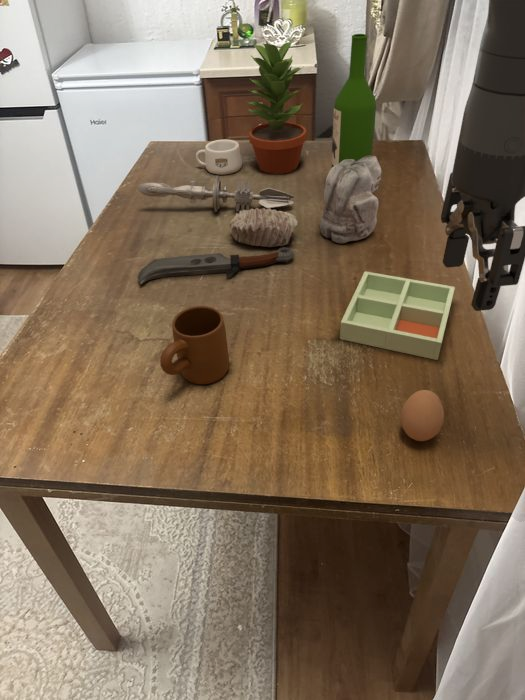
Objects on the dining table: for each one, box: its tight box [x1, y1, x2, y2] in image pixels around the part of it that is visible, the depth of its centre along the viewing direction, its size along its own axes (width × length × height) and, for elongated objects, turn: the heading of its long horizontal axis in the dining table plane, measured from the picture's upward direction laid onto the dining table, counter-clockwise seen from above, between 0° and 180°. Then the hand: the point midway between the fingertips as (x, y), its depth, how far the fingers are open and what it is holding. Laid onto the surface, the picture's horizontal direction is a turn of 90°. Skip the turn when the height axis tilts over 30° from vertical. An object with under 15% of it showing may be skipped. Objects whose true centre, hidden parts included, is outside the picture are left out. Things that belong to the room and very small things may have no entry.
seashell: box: [229, 207, 299, 248], centre depth 109 cm, size 14×9×10 cm
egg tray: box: [339, 270, 456, 361], centre depth 88 cm, size 15×15×4 cm
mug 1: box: [159, 305, 230, 385], centre depth 78 cm, size 12×8×9 cm, turn 147°
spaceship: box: [137, 175, 295, 213], centre depth 120 cm, size 8×35×8 cm
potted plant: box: [246, 37, 307, 175], centre depth 131 cm, size 15×15×30 cm
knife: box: [137, 246, 295, 285], centre depth 103 cm, size 9×2×30 cm
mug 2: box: [195, 138, 243, 176], centre depth 139 cm, size 12×10×6 cm
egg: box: [400, 389, 445, 442], centre depth 68 cm, size 5×5×8 cm
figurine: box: [319, 154, 382, 244], centre depth 108 cm, size 10×11×15 cm
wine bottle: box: [331, 33, 377, 168], centre depth 117 cm, size 9×9×32 cm
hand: (466, 285), depth 59 cm, fingers open, 8 cm apart
